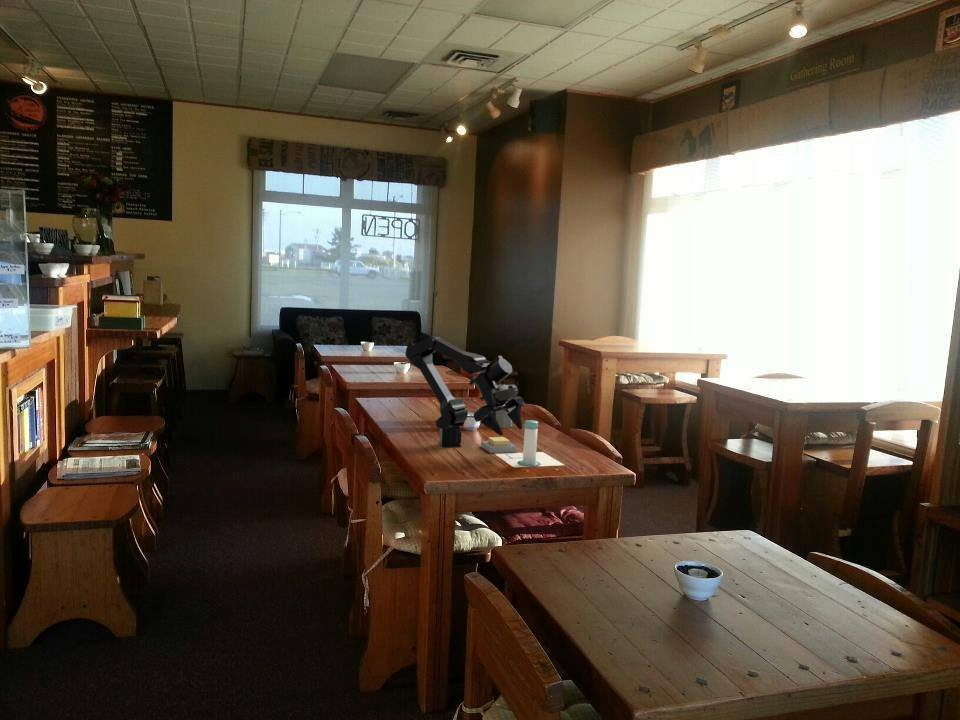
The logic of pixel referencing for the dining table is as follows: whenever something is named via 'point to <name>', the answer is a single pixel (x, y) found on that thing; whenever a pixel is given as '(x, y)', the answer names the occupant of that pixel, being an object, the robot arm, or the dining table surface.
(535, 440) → the marker
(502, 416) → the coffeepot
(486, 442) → the button housing
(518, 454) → the drawing board
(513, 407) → the robot arm
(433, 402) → the dining table surface
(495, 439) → the button
